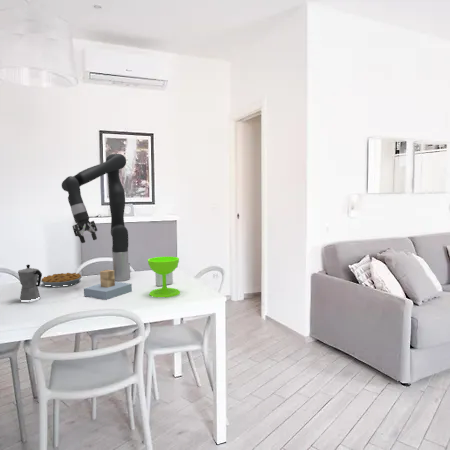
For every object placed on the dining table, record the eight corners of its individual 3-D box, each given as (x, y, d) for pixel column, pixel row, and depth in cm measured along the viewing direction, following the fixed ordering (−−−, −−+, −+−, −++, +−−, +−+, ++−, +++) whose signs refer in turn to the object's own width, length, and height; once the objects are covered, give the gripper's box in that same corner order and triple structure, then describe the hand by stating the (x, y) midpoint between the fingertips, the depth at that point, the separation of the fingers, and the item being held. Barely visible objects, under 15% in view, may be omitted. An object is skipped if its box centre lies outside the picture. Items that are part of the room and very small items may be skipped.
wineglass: (183, 289, 211) (181, 256, 209) (176, 297, 195) (175, 262, 194) (154, 289, 213) (152, 256, 211) (145, 297, 197) (143, 262, 195)
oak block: (108, 284, 209) (107, 269, 208) (114, 285, 207) (114, 270, 206) (100, 286, 205) (100, 271, 204) (107, 287, 202) (107, 272, 202)
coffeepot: (12, 301, 195) (10, 265, 194) (29, 296, 204) (26, 262, 202) (34, 304, 189) (32, 267, 187) (50, 299, 197) (48, 264, 196)
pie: (54, 279, 243) (53, 271, 243) (88, 279, 241) (87, 271, 241) (33, 288, 222) (33, 279, 221) (70, 288, 220) (70, 279, 219)
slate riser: (110, 287, 218) (109, 280, 217) (131, 291, 210) (131, 283, 210) (84, 295, 202) (83, 288, 202) (106, 299, 194) (106, 291, 194)
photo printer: (169, 282, 228) (168, 261, 227) (174, 283, 225) (173, 262, 224) (154, 285, 221) (153, 264, 220) (159, 286, 218) (158, 265, 217)
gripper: (74, 212, 205) (84, 242, 205) (94, 209, 217) (103, 237, 218) (64, 216, 208) (74, 245, 208) (84, 213, 221) (94, 240, 221)
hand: (89, 241), depth 213 cm, fingers open, 8 cm apart
